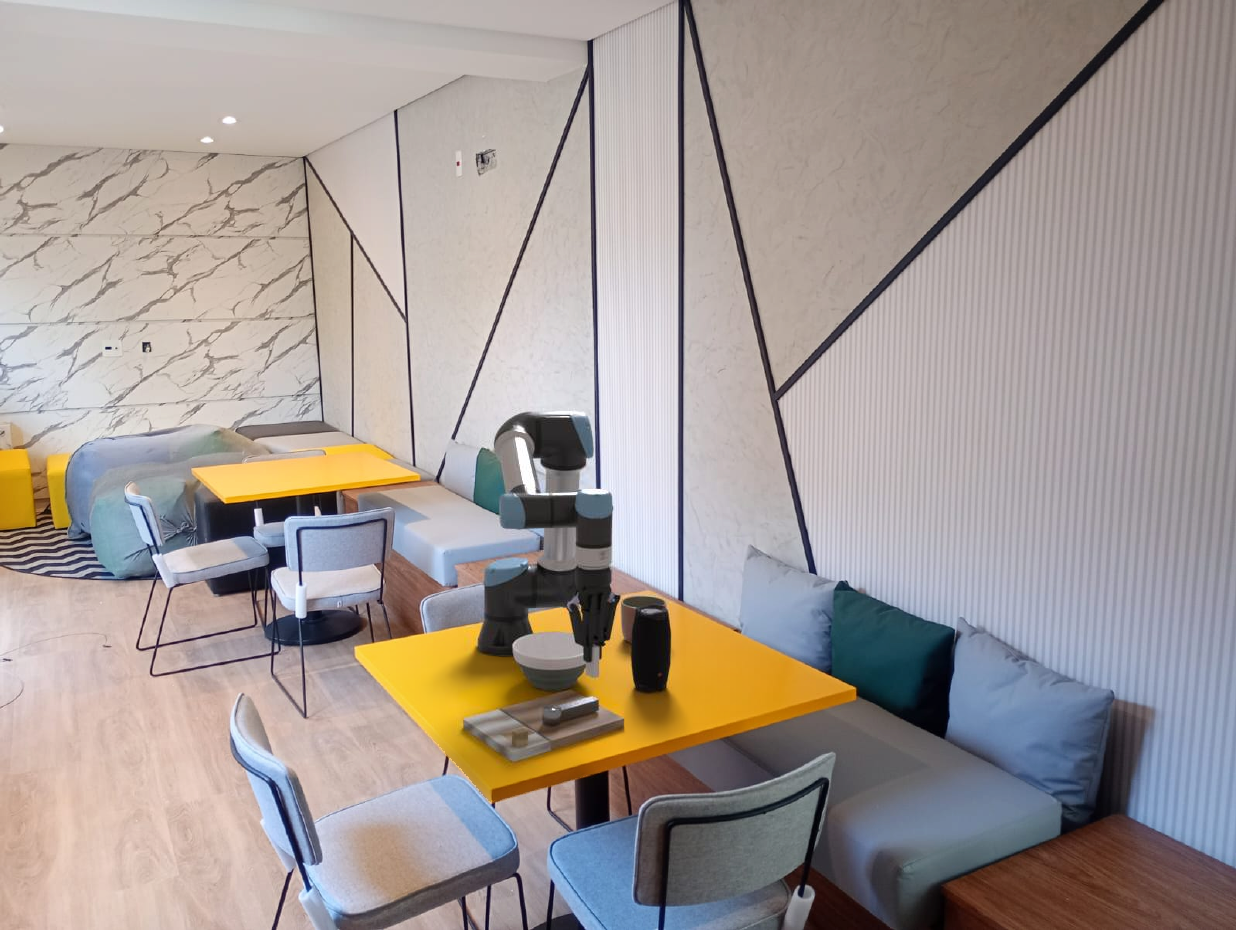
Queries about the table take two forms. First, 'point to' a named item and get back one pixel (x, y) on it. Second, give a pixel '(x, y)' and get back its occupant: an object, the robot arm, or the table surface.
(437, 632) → the table surface
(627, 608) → the planter
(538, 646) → the bowl
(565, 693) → the board
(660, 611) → the portable speaker
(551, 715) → the door lever handle
